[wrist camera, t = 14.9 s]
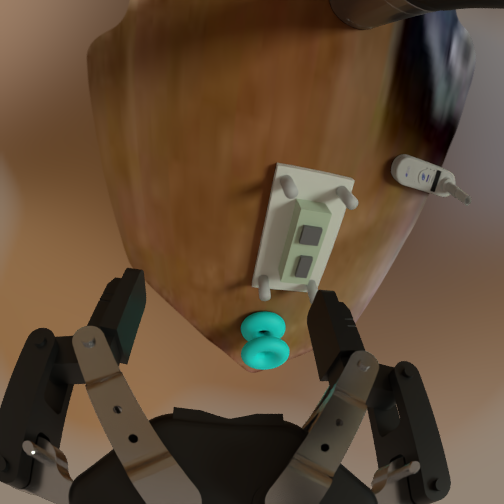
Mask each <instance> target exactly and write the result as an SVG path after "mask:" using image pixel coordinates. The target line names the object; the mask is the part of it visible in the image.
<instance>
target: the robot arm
mask: <svg viewBox="0 0 504 504" xmlns="http://www.w3.org/2000/svg"><path fill="white" fill-rule="evenodd" d="M330 4H331V8H332V9H333V11H334V13H335V14H336V15H337V16H338V18H340V19H341V20H342V21H343V22H344V23H346V24H348V25H349V26H352V27H354V28H358V29H364V30H366V29H372V28H375V27H378V26H381V25H385V24H388V23H392V22H395V21H398V20H402V19H406V18H410V17H413V16H418V15H422V14H426V13H430V12H435V11H440V10H443V11H445V10H455V9H464V8H504V0H330ZM145 304H146V289H145V279H144V271H143V270H139V269H132V268H127V269H126V270H125V272H124V274H123V276H122V278H114V279H113V280H112V281H111V282H109V283H108V284H107V286H106V288H105V290H104V292H103V294H102V296H101V298H100V301H99V302H98V304H97V306H96V308H95V310H94V312H93V314H92V316H91V319H90V321H89V323H88V325H87V326H85V327H82V328H80V329H79V330H77V331H76V333H75V334H74V335H73V336H63V337H55V336H54V334H53V332H52V331H51V330H49V329H47V328H39V329H36V330H34V331H33V332H32V333H31V334H30V335H29V336H28V338H27V340H26V343H25V345H24V347H23V349H22V351H21V354H20V356H19V358H18V361H17V363H16V366H15V368H14V371H13V373H12V376H11V378H10V381H9V384H8V387H7V389H6V392H5V395H4V398H3V401H2V404H1V408H0V481H1V482H3V483H5V484H8V485H10V486H12V487H13V488H15V489H18V490H21V491H23V492H26V493H29V494H33V495H37V496H39V497H42V498H44V499H46V500H48V501H51V502H53V503H56V504H430V503H433V502H436V501H439V500H441V499H442V498H444V497H445V496H446V495H447V494H448V492H449V490H450V485H451V481H450V475H449V471H448V467H447V462H446V458H445V454H444V450H443V446H442V442H441V439H440V435H439V431H438V428H437V424H436V421H435V418H434V415H433V411H432V408H431V405H430V402H429V399H428V396H427V393H426V391H425V388H424V385H423V382H422V379H421V377H420V374H419V371H418V370H417V368H416V367H415V366H414V365H413V364H411V363H410V362H406V361H401V362H399V363H398V364H397V365H396V366H395V367H389V366H386V365H382V364H379V363H378V361H377V359H376V358H375V357H374V356H373V355H372V354H371V353H369V352H366V351H365V349H364V346H363V343H362V340H361V338H360V335H359V333H358V330H357V327H355V326H356V325H355V322H354V320H353V317H352V314H351V312H350V310H349V309H348V307H347V306H346V305H345V304H344V303H343V302H339V301H338V298H337V296H336V293H335V292H334V291H328V290H318V291H317V293H316V295H315V298H314V300H313V303H312V305H311V307H310V310H309V312H308V316H307V325H308V330H309V334H310V338H311V343H312V347H313V351H314V356H315V360H316V365H317V369H318V374H319V379H320V381H329V385H330V386H329V387H328V388H327V390H326V392H325V393H324V395H323V397H322V398H321V400H320V401H319V403H318V405H317V406H316V408H315V410H314V411H313V413H312V414H311V416H310V417H309V419H308V420H307V421H306V423H305V424H304V425H303V427H302V428H301V427H299V426H298V425H295V424H293V423H290V422H287V421H284V420H283V414H254V415H249V416H244V417H238V418H232V419H227V418H223V417H220V416H216V415H214V414H210V413H207V412H204V411H201V410H193V409H185V408H177V407H174V411H173V413H172V414H165V415H161V416H158V417H155V418H153V419H151V420H149V421H148V419H147V418H146V416H145V414H144V413H143V411H142V409H141V407H140V405H139V404H138V402H137V400H136V398H135V397H134V395H133V393H132V391H131V389H130V387H129V385H128V383H127V381H126V379H125V378H124V376H123V374H122V372H121V371H120V369H119V364H120V363H123V364H127V363H128V360H129V356H130V353H131V350H132V346H133V343H134V340H135V337H136V333H137V330H138V327H139V324H140V321H141V317H142V315H143V312H144V308H145ZM74 384H86V390H87V393H88V395H89V398H90V400H91V402H92V405H93V407H94V409H95V412H96V414H97V416H98V418H99V421H100V423H101V425H102V427H103V429H104V431H105V433H106V435H107V437H108V439H109V441H110V443H111V445H112V447H113V450H111V451H110V452H109V453H108V454H106V455H105V456H104V457H103V458H101V459H100V460H99V461H98V462H96V463H95V464H94V465H92V466H91V467H90V468H88V469H87V470H86V471H84V472H83V473H82V474H80V475H79V476H78V477H77V478H76V479H75V480H74V481H73V480H72V479H71V477H70V475H69V472H68V462H67V459H66V457H65V455H64V453H63V452H62V451H61V450H59V447H60V442H61V437H62V431H63V427H64V422H65V417H66V413H67V409H68V405H69V401H70V397H71V393H72V390H73V386H74ZM396 404H397V407H396ZM397 408H398V410H397ZM366 410H368V414H369V419H370V423H371V429H372V434H373V439H374V445H375V450H376V456H377V462H378V468H379V469H378V470H377V471H376V472H375V474H374V477H373V481H372V483H371V485H372V489H370V488H368V487H367V486H366V485H365V484H364V483H363V482H361V481H360V480H359V479H358V478H357V477H355V476H354V475H353V474H352V473H351V472H350V471H349V470H347V469H346V468H345V467H344V466H343V465H342V464H341V461H342V459H343V458H344V456H345V454H346V452H347V450H348V448H349V446H350V444H351V442H352V440H353V438H354V436H355V434H356V432H357V430H358V428H359V425H360V424H361V421H362V419H363V417H364V415H365V413H366ZM398 411H399V414H398ZM399 416H400V418H399Z"/></svg>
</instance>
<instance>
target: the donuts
mask: <svg viewBox="0 0 504 504" xmlns="http://www.w3.org/2000/svg"><path fill="white" fill-rule="evenodd" d="M262 330H266V332H259V331H262ZM284 332H285V322H284V320H283V319H282V318H281V317H280V316H279V315H277V314H275V313H272V312H267V311H262V312H256V313H253V314H251V315H249V316H248V317H247V318H245V320H244V321H243V322H242V325H241V333H242V335H243V337H244V338H245V339H246V340H247V341H248V342H247V343H246V344H245V345H244V347H243V348H242V351H241V357H242V360H243V361H244V363H245V364H246V365H248V366H250V367H252V368H255V369H261V370H266V369H272V368H276V367H278V366H280V365H282V364H283V363H284V362H285V361H286V360H287V359H288V357H289V347H288V345H287V344H286V343H285V342H284V341H283V340H281V339H280V338H281V337H282V336H283V334H284Z"/></svg>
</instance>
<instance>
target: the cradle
mask: <svg viewBox="0 0 504 504" xmlns="http://www.w3.org/2000/svg"><path fill="white" fill-rule="evenodd" d="M354 182H355V181H354V180H353V179H352V178H350V177H345V176H341V175H337V174H332V173H328V172H323V171H318V170H313V169H308V168H303V167H298V166H292V165H287V164H281V163H277V164H276V169H275V174H274V179H273V183H272V188H271V193H270V198H269V203H268V207H267V212H266V217H265V222H264V227H263V231H262V236H261V241H260V246H259V250H258V255H257V260H256V265H255V269H254V274H253V279H252V287H257V288H259V298H260V300H262V301H267V300H269V299H270V298H271V294H270V289H278V290H289V291H301V292H308V295H309V298H310V302H311V304H312V303H313V300H314V298H315V295H316V293H317V291H318V288H317V287H318V285H319V282H320V280H321V277H322V275H323V272H324V269H325V267H326V264H327V261H328V259H329V256H330V253H331V250H332V248H333V245H334V242H335V239H336V236H337V234H338V231H339V228H340V225H341V222H342V219H343V216H344V213H345V210H346V207H347V208H348V209H350V210H353V209H355V208H356V207H357V205H358V200H357V199H356V198H355V197H354V196H353V194H352V193H351V191H352V188H353V185H354ZM296 198H297V199H303V200H308V201H314V202H320V203H325V204H326V205H327V207H328V209H329V210H330V212H331V213H332V216H331V219H330V222H329V225H328V228H327V231H326V234H325V237H324V240H323V243H322V246H321V249H320V252H319V255H318V258H317V261H316V263H315V266H314V269H313V272H312V275H311V277H310V280H309V283H308V285H305V284H295V283H284V282H281V281H280V276H279V271H278V267H279V263H280V259H281V256H282V252H283V248H284V245H285V241H286V237H287V233H288V229H289V226H290V222H291V218H292V214H293V210H294V206H295V202H296Z"/></svg>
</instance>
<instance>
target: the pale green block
mask: <svg viewBox="0 0 504 504" xmlns="http://www.w3.org/2000/svg"><path fill="white" fill-rule="evenodd" d="M331 216H332V213H331V212H330V210H329V209H328V207H327V205H326V204H325V203H320V202H314V201H308V200H303V199H297V198H296V202H295V206H294V210H293V214H292V218H291V222H290V226H289V229H288V233H287V237H286V241H285V245H284V248H283V252H282V256H281V259H280V263H279V267H278V271H279V276H280V281H281V282H284V283H295V284H305V285H308V283H309V280H310V277H311V275H312V272H313V269H314V266H315V263H316V261H317V258H318V255H319V252H320V249H321V246H322V243H323V240H324V237H325V234H326V231H327V228H328V225H329V222H330V219H331Z"/></svg>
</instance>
